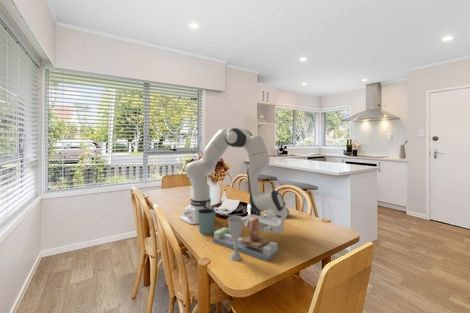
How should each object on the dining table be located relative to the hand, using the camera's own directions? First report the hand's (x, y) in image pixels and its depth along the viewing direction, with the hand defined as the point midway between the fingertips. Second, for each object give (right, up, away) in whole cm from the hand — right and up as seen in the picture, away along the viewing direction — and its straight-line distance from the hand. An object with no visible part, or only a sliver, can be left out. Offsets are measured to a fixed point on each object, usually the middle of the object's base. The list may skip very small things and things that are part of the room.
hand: (254, 228), depth 111 cm
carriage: (0, -7, +1) cm, 7 cm away
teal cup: (-25, -9, +24) cm, 36 cm away
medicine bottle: (+4, -7, +51) cm, 51 cm away
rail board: (-5, -11, +5) cm, 13 cm away
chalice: (-9, -12, -5) cm, 16 cm away
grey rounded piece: (+22, -7, +51) cm, 56 cm away
